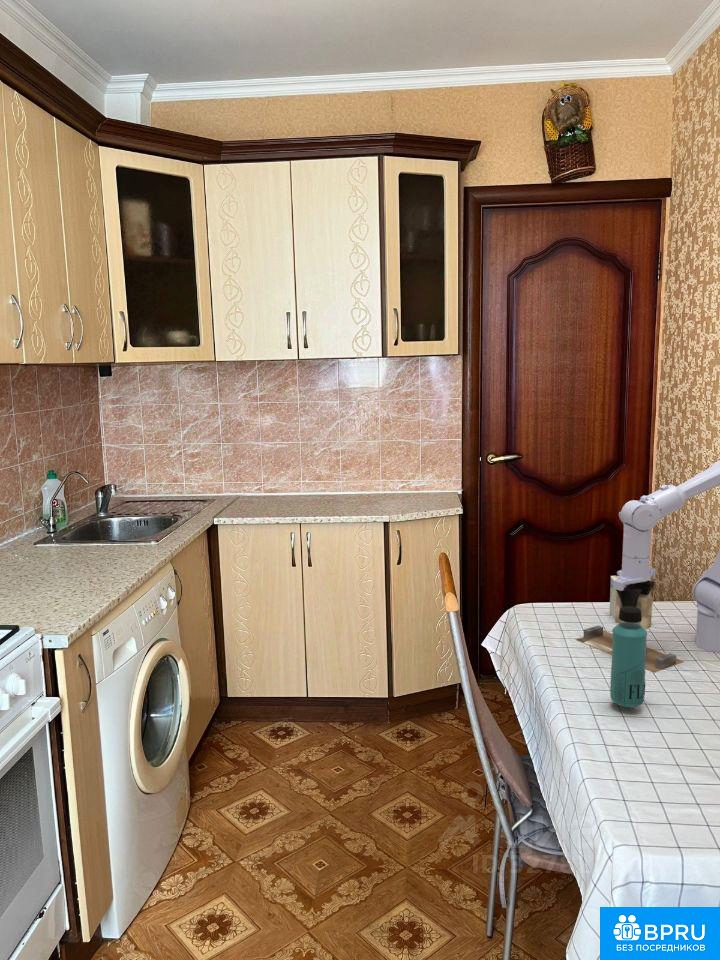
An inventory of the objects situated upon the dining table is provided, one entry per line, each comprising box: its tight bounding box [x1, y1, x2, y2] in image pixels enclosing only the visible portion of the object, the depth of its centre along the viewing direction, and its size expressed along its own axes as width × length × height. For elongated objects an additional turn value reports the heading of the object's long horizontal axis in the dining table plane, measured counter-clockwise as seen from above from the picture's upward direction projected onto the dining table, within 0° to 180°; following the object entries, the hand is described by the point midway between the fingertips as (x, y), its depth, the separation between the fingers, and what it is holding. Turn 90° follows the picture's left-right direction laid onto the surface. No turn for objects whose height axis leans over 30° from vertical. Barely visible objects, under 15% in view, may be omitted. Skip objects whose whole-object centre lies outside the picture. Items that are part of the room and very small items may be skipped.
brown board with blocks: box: [575, 625, 685, 674], centre depth 173 cm, size 10×22×3 cm, turn 32°
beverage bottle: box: [609, 606, 648, 708], centre depth 146 cm, size 6×7×20 cm
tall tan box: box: [614, 593, 653, 631], centre depth 170 cm, size 3×7×7 cm, turn 41°
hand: (633, 614), depth 171 cm, fingers closed on tall tan box, 3 cm apart
